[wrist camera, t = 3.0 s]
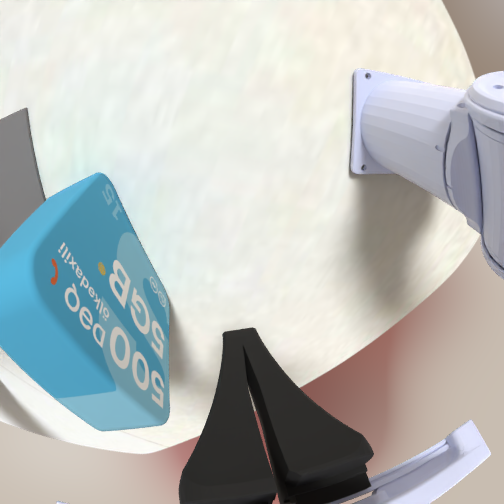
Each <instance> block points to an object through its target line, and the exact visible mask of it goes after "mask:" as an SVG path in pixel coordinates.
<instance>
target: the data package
mask: <svg viewBox="0 0 504 504" xmlns="http://www.w3.org/2000/svg"><path fill="white" fill-rule="evenodd" d="M169 315H170V308H169V302H168V298H167V294H166V292H165V289H164V287H163V285H162V283H161V282H160V280H159V278H158V276H157V274H156V272H155V271H154V269H153V267H152V265H151V263H150V261H149V259H148V257H147V255H146V253H145V252H144V250H143V248H142V246H141V244H140V242H139V240H138V238H137V236H136V234H135V232H134V230H133V228H132V225H131V223H130V221H129V219H128V217H127V215H126V213H125V211H124V209H123V206H122V204H121V202H120V200H119V198H118V195H117V193H116V191H115V189H114V187H113V185H112V183H111V181H110V180H109V178H108V177H107V176H106V175H104V174H103V173H96V174H94V175H91V176H89V177H87V178H85V179H83V180H81V181H79V182H77V183H75V184H73V185H72V186H70V187H68V188H66V189H64V190H62V191H60V192H58V193H57V194H55V195H53V196H51V197H49V198H48V199H47V200H46V201H45V202H44V203H43V204H42V205H41V206H40V207H39V208H38V209H37V210H36V211H35V212H34V213H33V214H32V215H31V216H30V217H29V218H28V219H27V220H26V221H25V222H24V223H23V224H22V225H21V226H20V227H19V228H18V229H17V230H16V231H15V232H14V233H13V234H12V235H11V237H10V238H9V239H8V240H7V241H6V242H5V243H4V244H3V246H2V247H1V248H0V347H1V348H2V349H3V350H4V351H5V352H6V354H7V355H8V356H9V357H10V358H11V359H12V360H13V361H14V362H15V363H16V364H17V365H18V366H19V367H20V368H21V369H22V370H23V371H24V372H25V373H26V374H27V375H29V376H30V377H31V378H32V379H33V380H34V381H35V382H36V383H37V384H38V385H40V386H41V387H42V388H43V389H44V390H45V391H46V392H48V393H49V394H50V395H51V396H52V397H54V398H55V399H56V400H57V401H59V402H60V403H61V404H62V405H64V406H65V407H66V408H67V409H69V410H70V411H71V412H73V413H74V414H75V415H77V416H78V417H79V418H81V419H82V420H84V421H85V422H86V423H88V424H89V425H91V426H92V427H94V428H95V429H97V430H100V431H114V430H126V429H136V428H145V427H153V426H160V425H163V424H165V423H166V422H167V420H168V418H169V413H170V402H169Z"/></svg>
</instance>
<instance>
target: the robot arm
mask: <svg viewBox="0 0 504 504" xmlns="http://www.w3.org/2000/svg"><path fill="white" fill-rule="evenodd" d="M366 73H367V74H368V79H366V77H365V74H366ZM362 165H364V168H363V169H362V170H361V167H362ZM350 167H351V171H352V172H353V173H355V174H398V175H400V176H402V177H403V178H405V179H407V180H409V181H411V182H412V183H414V184H416V185H418V186H419V187H421V188H423V189H424V190H426V191H428V192H429V193H431V194H433V195H434V196H436V197H438V198H439V199H441V200H442V201H444V202H446V203H447V204H449V205H450V206H452V207H453V208H455V209H456V210H458V211H460V212H461V213H462V214H464V215H465V217H466V219H467V224H468V225H469V226H470V227H472V228H473V229H474V230H476V231H477V232H478V233H480V234H481V247H482V252H483V255H484V257H485V259H486V261H487V263H488V265H489V266H490V267H491V269H492V270H493V271H494V272H495V273H496V274H497V275H498V276H500V277H501V278H502V279H504V71H499V72H492V73H488V74H485V75H482V76H480V77H478V78H477V79H476V80H475V81H474V82H473V83H472V85H471V86H470V87H469V88H468V89H467V90H463V89H457V88H452V87H446V86H440V85H433V84H429V83H425V82H422V81H418V80H414V79H410V78H406V77H402V76H398V75H393V74H389V73H384V72H379V71H373V70H368V69H356V70H355V71H354V104H353V133H352V152H351V166H350ZM222 335H223V353H222V362H221V369H220V375H219V379H218V384H217V388H216V392H215V396H214V400H213V403H212V406H211V409H210V412H209V415H208V418H207V421H206V423H205V426H204V429H203V431H202V433H201V436H200V438H199V440H198V442H197V444H196V447H195V449H194V451H193V453H192V455H191V457H190V458H189V460H188V462H187V464H186V466H185V468H184V469H183V471H182V475H181V479H180V484H179V500H180V504H272V502H273V500H275V497H276V493H278V498H279V502H280V504H340V503H343V502H346V501H348V500H351V499H354V498H356V497H359V496H361V495H364V494H366V493H369V492H371V491H373V490H374V491H373V492H372V495H371V496H369V497H367V498H365V499H362V500H360V501H357V502H355V503H353V504H430V503H431V502H433V501H434V500H435V499H437V498H438V497H439V496H441V495H442V494H444V493H445V492H446V491H448V490H449V489H450V488H452V487H453V486H454V485H455V484H457V483H458V482H459V481H460V480H462V479H463V478H464V477H465V476H466V475H467V474H469V473H470V472H471V471H472V470H474V469H475V468H476V467H477V466H478V465H480V464H481V463H482V462H483V461H484V460H485V459H487V458H488V457H489V456H490V455H491V453H490V451H489V449H488V447H487V445H486V443H485V442H484V440H483V439H482V436H481V435H480V433H479V431H478V429H477V428H476V426H475V424H474V423H473V421H472V420H471V419H470V420H469V421H467V422H466V423H464V424H463V425H462V426H460V427H459V428H457V429H456V430H454V431H453V432H452V433H451V434H449V435H448V436H447V437H446V438H445V439H444V440H442V441H440V442H439V443H437V444H435V445H434V446H432V447H430V448H429V449H427V450H425V451H424V452H422V453H420V454H418V455H417V456H415V457H413V458H411V459H409V460H407V461H405V462H403V463H401V464H399V465H397V466H395V467H393V468H391V469H389V470H387V471H385V472H382V473H380V474H378V475H376V476H373V477H371V478H369V479H368V476H367V474H366V472H367V468H366V465H365V463H366V462H368V461H369V460H370V459H371V458H372V457H373V455H374V453H373V450H372V448H371V446H370V445H369V443H368V442H367V440H366V439H365V437H364V436H363V435H362V434H360V433H359V432H357V431H355V430H353V429H352V428H350V427H348V426H346V425H345V424H343V423H342V422H340V421H339V420H337V419H336V418H334V417H333V416H331V415H330V414H329V413H328V412H326V411H325V410H324V409H322V408H321V407H320V406H318V405H317V404H316V403H315V402H314V401H313V400H311V399H310V398H309V397H308V396H307V395H306V394H305V393H304V392H303V391H302V390H301V389H300V388H299V387H298V386H297V385H296V384H295V383H294V382H293V381H292V380H291V379H290V378H289V377H288V376H287V374H286V373H285V372H284V371H283V370H282V369H281V367H280V366H279V365H278V363H277V362H276V361H275V359H274V358H273V357H272V355H271V354H270V353H269V351H268V350H267V348H266V347H265V345H264V343H263V342H262V340H261V338H260V337H259V335H258V333H257V331H256V329H255V328H246V329H240V330H233V331H227V332H224V333H223V334H222ZM248 387H249V390H250V393H251V396H252V399H253V402H254V405H255V408H256V411H257V414H258V416H259V419H260V423H261V426H262V430H263V434H264V438H265V442H266V447H267V451H268V455H269V459H270V464H271V468H272V471H271V468H270V465H269V462H268V459H267V455H266V452H265V449H264V446H263V442H262V439H261V435H260V432H259V428H258V425H257V421H256V417H255V414H254V410H253V406H252V402H251V398H250V394H249V390H248ZM272 472H273V474H272ZM273 476H274V477H273ZM56 503H57V504H68V503H64V502H60V501H57V502H56Z"/></svg>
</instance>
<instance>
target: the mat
mask: <svg viewBox="0 0 504 504" xmlns="http://www.w3.org/2000/svg"><path fill="white" fill-rule="evenodd" d="M45 201H46V200H45V196H44V192H43V189H42V185H41V181H40V177H39V173H38V168H37V164H36V159H35V154H34V149H33V144H32V138H31V133H30V126H29V119H28V112H27V108H24V109H22V110H20V111H17V112H15V113H13V114H11V115H9V116H7V117H5V118H3V119H1V120H0V248H1V247H2V246H3V244H4V243H5V242H6V241H7V240H8V239H9V238H10V237H11V235H12V234H13V233H14V232H15V231H16V230H17V229H18V228H19V227H20V226H21V225H22V224H23V223H24V222H25V221H26V220H27V219H28V218H29V217H30V216H31V215H32V214H33V213H34V212H35V211H36V210H37V209H38V208H39V207H40V206H41V205H42V204H43V203H44V202H45Z"/></svg>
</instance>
